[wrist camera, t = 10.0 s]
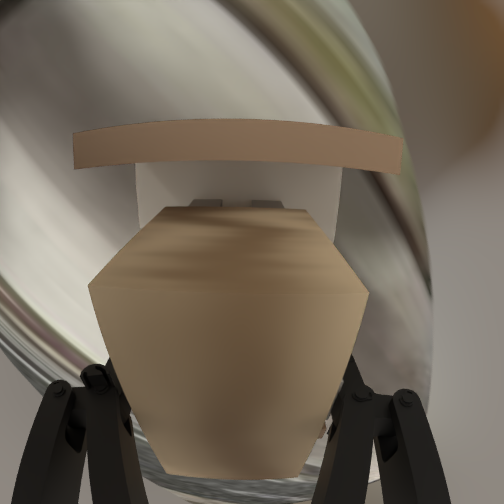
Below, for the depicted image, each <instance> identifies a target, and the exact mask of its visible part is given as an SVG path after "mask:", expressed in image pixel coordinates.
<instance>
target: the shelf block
mask: <svg viewBox="0 0 504 504" xmlns="http://www.w3.org/2000/svg"><path fill="white" fill-rule="evenodd" d="M88 288H89V292H90V296H91V300H92V304H93V307H94V311H95V314H96V317H97V321H98V324H99V327H100V330H101V333H102V336H103V339H104V342H105V345H106V348H107V351H108V354H109V356H110V359H111V362H112V364H113V367H114V369H115V372H116V374H117V377H118V379H119V382H120V384H121V387H122V389H123V391H124V393H125V396H126V398H127V400H128V402H129V405H130V407H131V409H132V411H133V413H134V415H135V417H136V419H137V421H138V423H139V425H140V427H141V429H142V431H143V433H144V435H145V437H146V438H147V440H148V442H149V444H150V446H151V447H152V449H153V451H154V453H155V454H156V456H157V458H158V460H159V461H160V463H161V465H162V466H163V468H164V469H165V471H166V473H167V474H174V475H181V476H190V477H200V478H212V479H234V480H260V479H282V478H294V477H298V475H299V474H300V472H301V470H302V468H303V466H304V464H305V462H306V460H307V458H308V456H309V454H310V452H311V450H312V448H313V446H314V444H315V442H316V440H317V438H318V436H319V433H320V431H321V429H322V427H323V425H324V422H325V420H326V418H327V416H328V413H329V411H330V408H331V406H332V404H333V401H334V399H335V396H336V394H337V391H338V389H339V386H340V383H341V381H342V378H343V375H344V373H345V370H346V367H347V364H348V361H349V359H350V356H351V353H352V350H353V347H354V344H355V340H356V337H357V334H358V331H359V328H360V324H361V321H362V318H363V314H364V311H365V307H366V303H367V300H368V296H369V292H368V291H367V289H366V288H365V286H364V285H363V284H362V282H361V281H360V279H359V278H358V277H357V275H356V274H355V273H354V271H353V270H352V268H351V267H350V266H349V264H348V263H347V262H346V260H345V259H344V258H343V256H342V255H341V254H340V253H339V251H338V250H337V249H336V247H335V246H334V245H333V243H332V242H331V241H330V240H329V238H328V237H327V236H326V234H325V233H324V232H323V231H322V229H321V228H320V227H319V226H318V224H317V223H316V222H315V221H314V219H313V218H312V217H311V216H310V214H309V213H308V212H307V211H306V209H285V208H258V207H210V206H165V207H164V208H163V209H162V210H161V211H160V212H159V213H158V214H157V215H156V216H155V217H154V218H153V219H152V220H151V221H149V222H148V223H147V224H146V225H145V226H144V227H143V228H142V229H141V230H140V231H139V232H138V233H137V234H136V235H135V236H134V237H133V238H132V239H131V240H130V241H129V242H128V243H127V244H126V245H125V246H124V247H123V248H122V249H121V250H120V251H119V252H118V253H117V254H116V255H115V256H114V257H113V258H112V259H111V261H110V262H109V263H108V264H107V265H106V266H105V267H104V268H103V269H102V270H101V271H100V272H99V273H98V274H97V276H96V277H95V278H94V279H93V280H92V281H91V282H90V283H89V284H88Z"/></svg>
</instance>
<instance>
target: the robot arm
mask: <svg viewBox="0 0 504 504" xmlns="http://www.w3.org/2000/svg"><path fill="white" fill-rule="evenodd" d="M80 377H81V379H82V381H83V383H84V385H85V387H71V385H70V384H69V383H68V382H67V381H64V380H57V381H54V382H52V383H51V384H50V385H49V386H48V388H47V390H46V392H45V394H44V397H43V399H42V402H41V404H40V407H39V410H38V412H37V415H36V417H35V420H34V423H33V426H32V428H31V431H30V434H29V437H28V440H27V443H26V446H25V449H24V453H23V456H22V459H21V463H20V467H19V471H18V474H17V478H16V482H15V487H14V492H13V497H12V502H11V504H78V499H79V492H80V486H81V479H82V473H83V467H84V462H85V457H86V452H87V455H88V468H89V478H90V486H91V494H92V501H93V504H149V503H148V499H147V496H146V492H145V488H144V483H143V479H142V475H141V470H140V465H139V460H138V455H137V450H136V444H135V438H134V432H133V425H132V419H131V417H130V412H131V407H130V405H129V402H128V400H127V398H126V396H125V393H124V391H123V389H122V387H121V384H120V382H119V379H118V377H117V374H116V372H115V369H114V367H113V364H112V362H111V359H110V357H109V359H108V361H107V363H106V365H105V366H104V365H101V364H92V365H89V366H87V367H86V368H84V369H83V371H82V372H81V375H80ZM330 414H331V415H332V419H333V422H332V424H331V426H330V428H329V430H328V432H327V434H329V436H328V441H327V445H326V450H325V454H324V458H323V462H322V466H321V470H320V474H319V478H318V481H317V485H316V489H315V492H314V496H313V499H312V502H311V504H364V503H365V498H366V492H367V486H368V480H369V473H370V465H371V457H372V447H373V439H374V444H375V450H376V455H377V461H378V467H379V473H380V480H381V486H382V494H383V501H384V504H451V501H450V496H449V492H448V488H447V484H446V480H445V476H444V472H443V468H442V465H441V462H440V458H439V454H438V451H437V448H436V445H435V441H434V439H433V435H432V432H431V429H430V426H429V423H428V420H427V417H426V415H425V412H424V409H423V406H422V404H421V401H420V398H419V397H418V395H417V394H416V393H415V392H414V391H412V390H409V389H401V390H398V391H397V392H395V394H394V395H393V396H390V395H380V394H376V393H374V391H373V390H372V389H371V388H370V387H368V386H366V385H365V384H364V382H363V380H362V377H361V375H360V372H359V370H358V367H357V365H356V363H355V360H354V358H353V356H352V353H351V356H350V359H349V361H348V364H347V367H346V370H345V373H344V375H343V378H342V381H341V383H340V386H339V389H338V391H337V394H336V396H335V399H334V401H333V404H332V406H331V408H330V411H329V413H328V416H327V418H326V420H328V418H329V416H330Z"/></svg>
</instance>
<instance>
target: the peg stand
mask: <svg viewBox="0 0 504 504" xmlns="http://www.w3.org/2000/svg"><path fill="white" fill-rule="evenodd" d="M402 148H403V138H399V137H394V136H390V135H385V134H380V133H375V132H369V131H364V130H358V129H351V128H345V127H338V126H330V125H322V124H313V123H304V122H292V121H279V120H260V119H190V120H171V121H158V122H147V123H137V124H129V125H121V126H114V127H107V128H100V129H94V130H89V131H83V132H78V133H73V152H74V169H82V168H90V167H99V166H109V165H120V164H132V163H135V174H136V192H137V206H138V218H139V228H140V230H141V229H142V228H143V227H144V226H145V225H146V224H147V223H148V222H149V221H151V220H152V219H153V218H154V217H155V216H156V215H157V214H158V213H159V212H160V211H161V210H162V209H163V208H164V207H165V206H210V207H258V208H285V209H306V211H307V212H308V213H309V214H310V216H311V217H312V218H313V219H314V221H315V222H316V223H317V224H318V226H319V227H320V228H321V229H322V231H323V232H324V233H325V234H326V236H327V237H328V238H329V240H330V241H331V242H332V243H333V245H334V238H335V231H336V224H337V216H338V208H339V199H340V190H341V180H342V170H343V167H345V168H354V169H362V170H370V171H377V172H384V173H391V174H397V175H400V169H401V159H402ZM325 431H326V425H325V422H324V425H323V427H322V429H321V431H320V433H319V436H318V438H317V439H319V438H322V437H323V435H324V433H325Z"/></svg>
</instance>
